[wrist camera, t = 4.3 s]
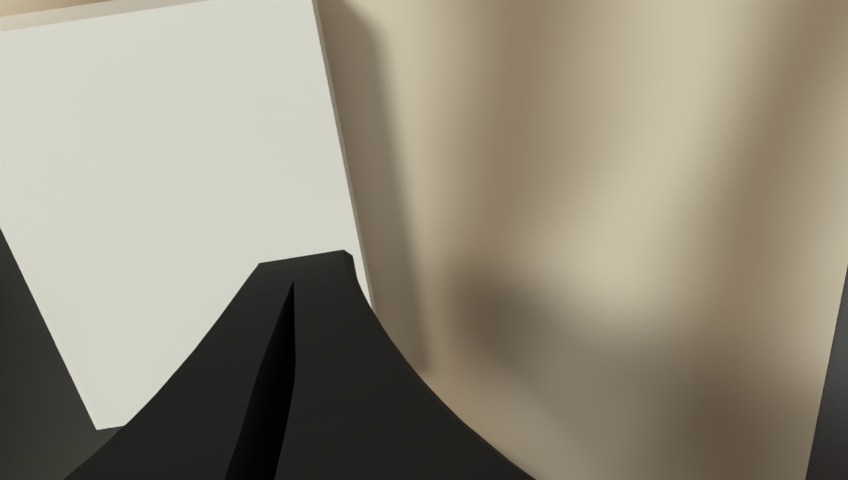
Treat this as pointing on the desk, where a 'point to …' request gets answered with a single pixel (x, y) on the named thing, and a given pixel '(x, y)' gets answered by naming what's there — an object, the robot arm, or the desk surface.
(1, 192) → the tile
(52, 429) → the desk surface
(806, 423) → the board
